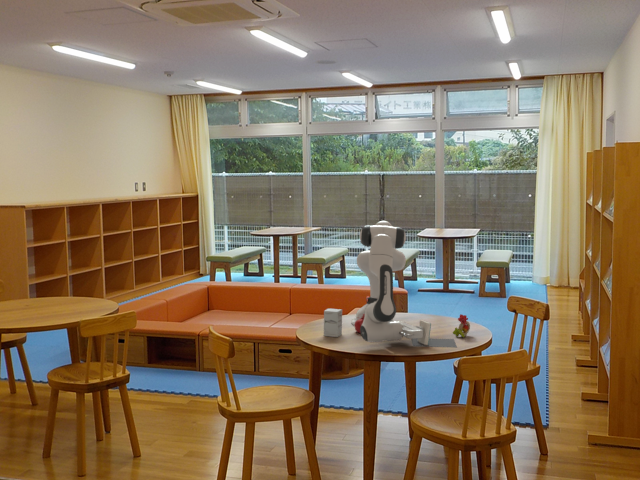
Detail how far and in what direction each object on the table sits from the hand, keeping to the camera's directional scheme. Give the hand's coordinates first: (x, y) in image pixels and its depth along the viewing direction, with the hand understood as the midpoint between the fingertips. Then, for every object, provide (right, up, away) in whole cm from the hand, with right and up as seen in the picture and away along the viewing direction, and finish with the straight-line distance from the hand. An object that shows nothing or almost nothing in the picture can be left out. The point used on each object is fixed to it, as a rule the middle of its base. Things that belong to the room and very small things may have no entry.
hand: (422, 328), depth 305 cm
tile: (0, -7, +1) cm, 7 cm away
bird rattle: (+22, -6, +18) cm, 29 cm away
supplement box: (-41, -6, +19) cm, 46 cm away
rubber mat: (+6, -7, +2) cm, 9 cm away
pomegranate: (-25, -6, +25) cm, 36 cm away
